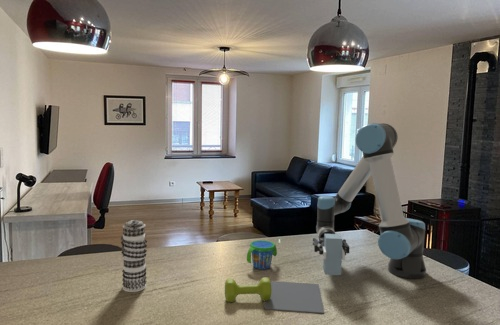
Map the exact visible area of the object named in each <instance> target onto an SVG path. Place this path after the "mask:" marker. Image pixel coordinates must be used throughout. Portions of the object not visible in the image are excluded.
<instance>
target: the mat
mask: <svg viewBox="0 0 500 325" xmlns="http://www.w3.org/2000/svg"><path fill="white" fill-rule="evenodd" d="M270 282H271V288H272V293H271V298H270V300H268V301H264V306H263V307H264V308H263V310H267V311H280V312H295V313H308V314H309V313H310V314H321V315H322V314H325V311H324V305H323V299H322V295H321V290H320V289H321V288H320V285H319V283H306V282H292V281H277V280H276V281H275V280H274V281H273V280H270Z"/></svg>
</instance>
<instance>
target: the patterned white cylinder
mask: <svg viewBox="0 0 500 325" xmlns="http://www.w3.org/2000/svg"><path fill="white" fill-rule="evenodd" d="M146 226H147V225H146V223H144V222H143V221H142V220H139V219H131V220H128V221H126V222H125V223H124V225H122V232H123V234H122V235H121V237H120V240H121V241H120V244H121V255H122V260H123V264H122V275H121V276H122V277H123V278H122V280H121V281H122V290H123V291H125V292H128V293H136V292H141V291H142V290H145V289H146V288H147V267H146V257H147V251H148V250H147V249H146V248H147V246H148V245H147V242H148V240H146V239H145V238H146V237H147V234H146V232H145V231H146V230H145V227H146Z"/></svg>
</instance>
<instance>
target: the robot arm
mask: <svg viewBox="0 0 500 325" xmlns="http://www.w3.org/2000/svg"><path fill="white" fill-rule="evenodd" d="M398 139H399V138H398V132H397V130H396V128H395V127H393V126H392V125H390V124H389V123H378V122H377V123H376V122H373V123H367V124H365V125H363V126H361V127H360V128H359V129H358V131H357V132H356V136H355V144H356V147H357V148H358V149H359V150H360V151H361V152H362V157H361V158H360V160H359V161H358V162H357V164H356V165H355V167H354V169H353V170H352V171H351V173H350V174H349V176H348V177H347V178H346V180H345V181H344V183H343V185H342V186H341V187H340V188H339V190H338V192H337V193H336V195H335V196H331V195H321V196H319V197H318V198H317V205H316V206H317V207H316V208H317V213H316V214H317V215H316V216H317V217H316V226H315V232H316V234H317V236H318V238H315V237H314V238H312V245H313V248H314V250H313V251H314V252H315V253H317V252H318V254H319V255H321V256H322V257H323V260H324V259H326V250H325V247H324V234H336V232H335V216H337V215H339V214H342V213H345V212H347V211H348V210H349V209H350V208H351V206H352V202H353V200H354V199H355V197H356V196H357V195H358V193H359V192H360V190H361V189H362V188H363V187H364V185H365V183H367V181H368V180H369V178H370V177H371V178H372V179H371V180H372V184H373V187H374V192H375V197H376V201H377V206H378V210H379V216H380V219H381V221H380V223H379V224H378V229H379V232H380V233H379V234H380V235H379V237H378V240H377V245H378V246H377V247H378V248H379V250H380V252H381V253H382V254H383V255H384V256H385V257H388V259H389V261H388V264H387V270H388V272H389V273H391V274H393V275H395V276H397V277H400V278H404V279H409V280H411V279H412V280H413V279H414V280H420V279H424V278H425V277H426V276H427V267H426V264H425V260H424V247H425V246H424V245H425V236H426V230H427V229H426V223H425V222H424V221H422V220H419V219H415V218H414V219H413V218H408V217H405V216H404V211H403V206H402V202H401V197H400V194H399V189H398V184H397V181H396V180H397V179H396V176H395V171H394V166H393V163H392V156H394V154H395V153H394V149H395V146H396V145H397V142H398ZM347 254H350V245H349V244H348V243H347V239H345V238H344V239H342V261H345V260H346V258H345V256H347Z"/></svg>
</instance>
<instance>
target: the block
mask: <svg viewBox="0 0 500 325" xmlns="http://www.w3.org/2000/svg"><path fill="white" fill-rule="evenodd" d="M342 240H343V237H342V235H341V234H340V233H335V234H324V247H325V250H326V259H324V258H323V267H322V268H323V272H324V275H329V276H330V275H331V276H342V264H343V263H342V261H343V260H342Z"/></svg>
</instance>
